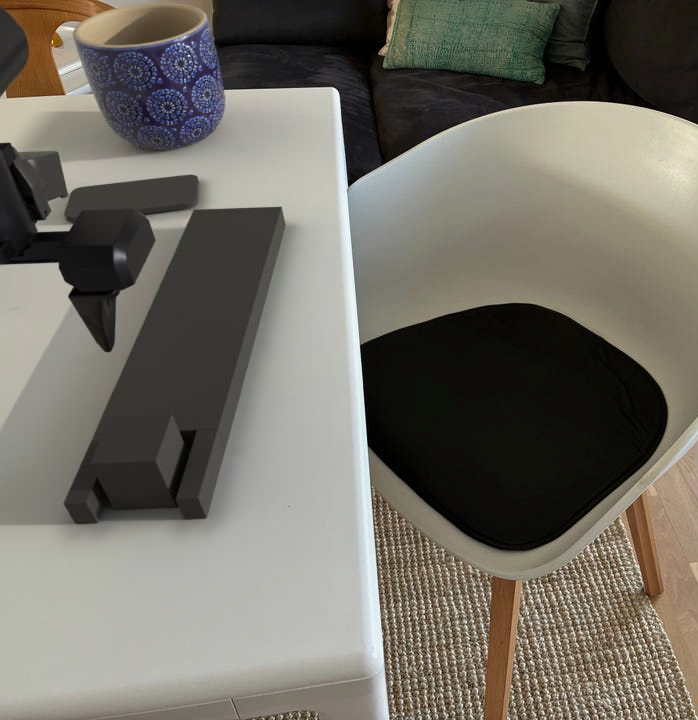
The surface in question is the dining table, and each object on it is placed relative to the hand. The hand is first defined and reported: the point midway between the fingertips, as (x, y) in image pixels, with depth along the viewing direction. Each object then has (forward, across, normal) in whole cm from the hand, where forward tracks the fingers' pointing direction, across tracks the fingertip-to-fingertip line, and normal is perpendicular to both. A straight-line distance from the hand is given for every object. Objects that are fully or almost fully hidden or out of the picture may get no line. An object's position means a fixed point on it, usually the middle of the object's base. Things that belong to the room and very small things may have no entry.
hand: (45, 350), depth 56 cm
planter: (+12, +9, -60) cm, 62 cm away
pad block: (+12, -5, +3) cm, 13 cm away
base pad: (+12, -5, -14) cm, 19 cm away
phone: (+12, +9, -42) cm, 44 cm away
